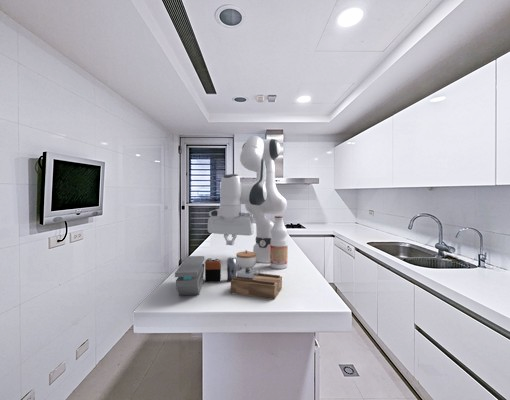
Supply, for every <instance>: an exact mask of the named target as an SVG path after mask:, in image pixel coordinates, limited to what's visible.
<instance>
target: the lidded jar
mask: <svg viewBox="0 0 510 400" xmlns="http://www.w3.org/2000/svg"><path fill="white" fill-rule="evenodd" d="M235 254H236V264H238V267H240V270H241V269H243V268H250V269H253V267H254V266H256V265H255V264H256V253H255V252H253V251H248V250H244V251H239V252H236V253H235Z"/></svg>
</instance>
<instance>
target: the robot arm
mask: <svg viewBox="0 0 510 400" xmlns="http://www.w3.org/2000/svg"><path fill="white" fill-rule="evenodd" d="M281 151H282V150H281V144H280V142H279V140H278V139H275V138H270V139H269V138H268V139H266V138H265V139H264V138H262V137H260V136H259V135H252V136H250V137H249V138H248V139H247V140H246V141H245V142H244V144H243V145H242V148H241V152H240V155H239V160H240V163H241V165H242V166H243V168H245V169H246V170H248V171H251V172H255V173H256V181H254V182H241V177H240V175H239V174H238V173H237V174H235V173H229V174H224V175H222V176H221V179H220V186H219V187H220V188H219V197H220V204H219V208H215V209H213V210H210V211H209V212H208V216H209V217H208V220H207V232H208V233H209V234H216V235H217V234H218V235H223V238H224V240H225V245H226V246H234V245H235V241H236V239H237V236H249V237H250V236H252V235H253V234H254V232H255V229H256V232H255V233H256V236H255V244H254V245H253V249H252V250H253V251H252V252H255V253H256V262H257V263H264V264H265V263H267V264H268V263H270V241H271V238H272V236H271V229H272V227H273V226H274V223H275V222H273V221H272V220H271V219H269V218H267V216H266V215H279V214H284V213H285V212H286V210H287V208H288V202H287V199H286V198H285V197H284V196H283V195H281V193H280V192H279V191H278V188H277V184H276V169H275V168H276V167H275V161H276V160H277V158H278V157H279V156H280V154H281ZM242 205H244V206H245V209H246V211H247V212H242ZM254 222H255V229H254ZM230 236H231V238H232V239H229V237H230ZM256 262H255V263H256Z"/></svg>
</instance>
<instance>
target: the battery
mask: <svg viewBox="0 0 510 400" xmlns="http://www.w3.org/2000/svg"><path fill="white" fill-rule="evenodd" d="M221 276H222V260H221V259H219V258H215V259H213V258H212V257H208V258H207V259H206V260H205V262H204V282H206V283H207V282H208V283H210V282H211V283H217V282H218V283H220V282H221V279H222V277H221Z"/></svg>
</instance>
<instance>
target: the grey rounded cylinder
mask: <svg viewBox="0 0 510 400" xmlns="http://www.w3.org/2000/svg"><path fill="white" fill-rule="evenodd" d="M226 263H227V265H226V266H227V270H226V271H227V275H226V277H227V278H226V279H227V282H229V283H231V280H232V279H233V278H234V277H236V276H237V257H227V262H226Z"/></svg>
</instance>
